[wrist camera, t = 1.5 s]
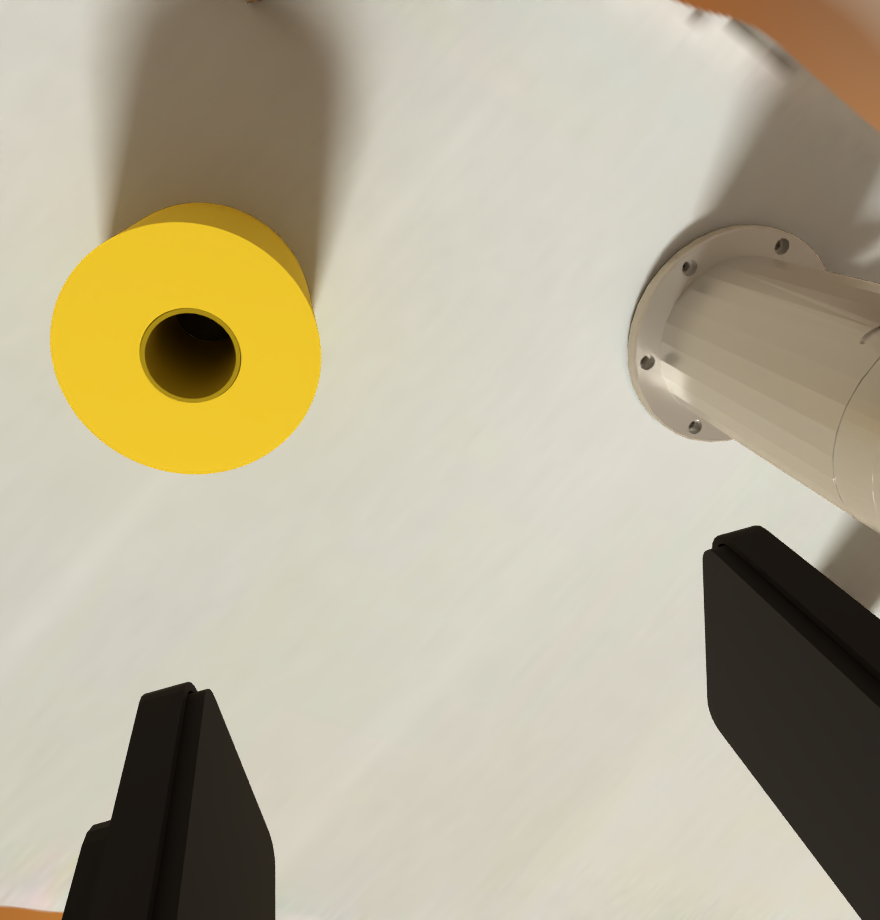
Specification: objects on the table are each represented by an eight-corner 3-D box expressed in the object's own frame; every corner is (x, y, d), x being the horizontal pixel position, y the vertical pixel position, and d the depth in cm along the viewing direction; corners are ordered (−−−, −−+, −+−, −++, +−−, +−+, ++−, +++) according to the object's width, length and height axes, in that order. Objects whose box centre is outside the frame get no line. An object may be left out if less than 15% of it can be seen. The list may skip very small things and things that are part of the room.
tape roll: (162, 158, 35) (126, 164, 26) (347, 276, 38) (368, 315, 30) (66, 339, 37) (4, 399, 28) (249, 434, 40) (243, 512, 32)
